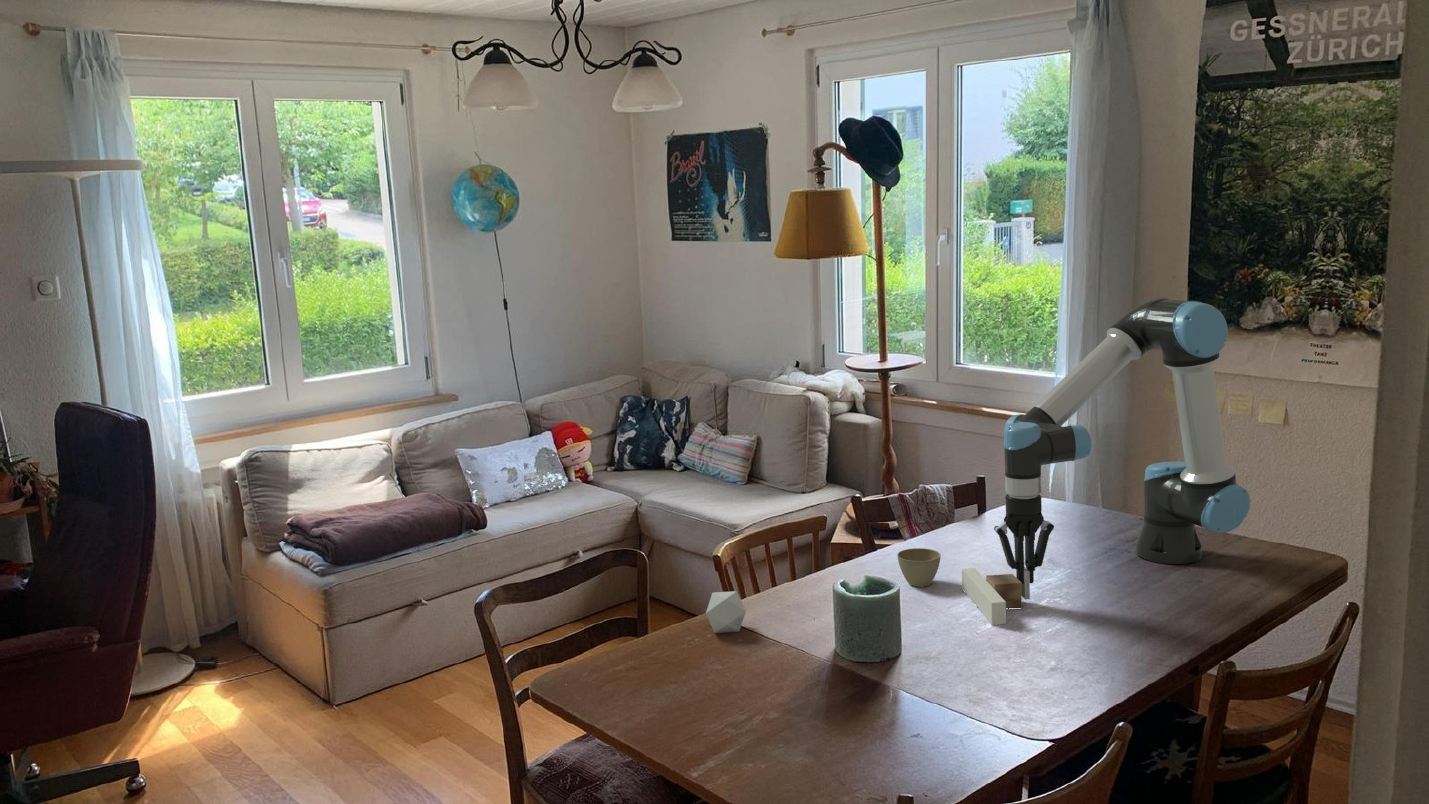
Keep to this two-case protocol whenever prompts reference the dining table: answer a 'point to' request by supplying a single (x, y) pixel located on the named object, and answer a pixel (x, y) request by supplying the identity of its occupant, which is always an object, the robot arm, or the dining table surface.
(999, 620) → the board
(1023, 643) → the dining table surface
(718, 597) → the die
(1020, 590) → the block
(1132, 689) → the dining table surface
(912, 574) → the flower pot
